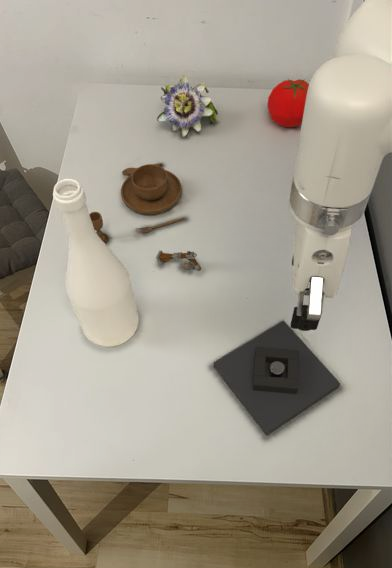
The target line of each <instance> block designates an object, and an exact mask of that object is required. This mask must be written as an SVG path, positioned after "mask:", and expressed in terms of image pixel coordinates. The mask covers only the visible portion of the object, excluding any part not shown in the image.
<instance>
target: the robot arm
mask: <svg viewBox="0 0 392 568" xmlns="http://www.w3.org/2000/svg"><path fill="white" fill-rule="evenodd" d="M339 33H340V34H339V36H338V38H337V39H336V43H335V44H334V45H335V46H334V49H333V53H332V58H331V59H329V60H327V61H325V62H324V63H322V64H321V65H320V66H319V67H318V68H317V69H316V71H315V72H314V73H313V75H312V77H311V79H310V81H309V82H308V84H309V87H308V91H307V96H306V102H305V108H304V114H303V120H302V124H301V126H300V127H301V128H300V133H299V139H298V146H297V151H296V156H295V157H296V158H295V163H294V169H293V176H292V180H291V181H292V182H291V186H290V193H289V199H288V200H289V201H288V207H289V212H290V213H291V215H292V216H293V218H294V220H296V221H295V228H294V237H293V240H294V241H293V253H292V259H291V266H292V267H293V291H294V293H295V294H296V295H297V305H296V306H294V308H293V311H292V316H291V319H290V328H291V329H292V330H293V329H294V330H299V331H302V332H309V331H316V330H318V327H319V323H320V321H321V318H322V314H323V308H324V307H323V306H324V299H325V298H327V299H328V298H329V299H331V298H334V297H336V296H337V294H338V292H339V287H340V284H341V281H342V277H343V273H344V270H345V266H346V263H347V259H348V253H349V250H350V246H351V245H350V244H351V238H352V234H353V227H355V226H357V225H358V224H359V223H360V222H361V220H362V219H363V217H364V215H365V211H366V208H367V205H368V203H369V201H370V197H371V194H372V192H373V189H374V186H375V182H376V180H377V176H378V174H379V171H380V169H381V165H382V163H383V160H384V157H386V156H387V155H388V154H391V153H392V0H363V1H362V3H360V5H359V6H358V7H356V9H355V11H354V12H353V13H352V15H351V16H350V18H348V20H347V21H346V23H345V25H344V27H343V28H342V29H341V30H340V32H339ZM305 296H308V303H307V304H304V299H305Z"/></svg>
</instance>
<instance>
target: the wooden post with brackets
mask: <svg viewBox="0 0 392 568" xmlns="http://www.w3.org/2000/svg"><path fill="white" fill-rule="evenodd" d="M197 256H198V253H196V252H195V251H190V250H187V252H182V251H180V252H173V253H167V252H164V251H163V250H161V249H159V251H158V252H157V254H156V256H155V258H156V260H157V262H158V263H159V265H162V264H163V263H164V262H167V261H170V260H173V261H182V260H187V261H188V262H186V261H184V263H182V264H181V267H182V268H184V270H187V269H188V270H191V269H192V268H195V269H196V271H197V272H201V270H202V267H201V264H200V262H198V261H197V259H196V257H197Z"/></svg>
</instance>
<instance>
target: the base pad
mask: <svg viewBox="0 0 392 568" xmlns="http://www.w3.org/2000/svg"><path fill="white" fill-rule="evenodd" d="M256 347H266V348H277V349H289V350H299V372H298V390H297V393H296V394H289V393H278V392H268V391H257V390H253V377H254V362H255V351H256ZM286 367H287V364H283V363H281V362H279V361H275V362H273V363H268V362H266V364H265V376H267V377H278V378H286ZM213 368H214V370H216V372H217V374H219V376H220V377H221V378H222V380H223V381H224V382H225V384H226V385H227V386H228V387H229V389H230V390H231V391H232V393H233V394H234V395H235V397H236V398H237V399H238V400H239V402H240V404H241V405H242V406H244V408H245V410H246V411H247V412H248V413H249V415H250V416H251V417H252V419H253V420H254V422H255V423H256V424H257V425H258V427H259V428H260V429H261V430H262V432H263V433H264V434H265V436H269V435H271V434H272V433H273V432H275V431H276V430H278V429H280V428H281V427H282V426H284V425H285V424H286V423H288V422H290V421H291V420H293V419H294V418H296V417H297V416H299V415H300V414H302V413H303V412H305V411H306V410H307V409H309V408H311V407H313V405H315V404H317V403H318V402H320V401H321V400H323V399H324V398H326V397H327V396H329V395H330V394H332V393H333V392H335V391H336V390H338V389H339V388H340V386H341V382H340V381H339V380H338V379H337V378H336V377H335V376H334V375H333V373H331V371H330V370H329V369H328V368H327V367H326V365H324V364H323V362H322V361H321V360H320V359H319V358H318V357H317V356H316V354H315V353H314V352H313V351H312V350H311V349H310V348H309V347H308V345H307V344H305V342H304V341H303V340H302V339H301V338H300V337H299V336H298V334H296V333H295V331H294V330H293V328H291V326H289V324H287V322H286V321H285V320H284V319H283V320H282V321H280V322H279V323H276V324H275V325H273V326H271V327H270V328H268V329H267V330H265V331H263V332H262V333H260V334H258V335H256V336H255V337H253V338H251V339H250V340H248V341H247V342H245V343H243V344H241V345H240V346H238V347H237V348H235V349H233V350H232V351H230V352H229V353H227V354H225V355H223V356H222V357H220V358H218V359H217V360H215V361H214V362H213Z"/></svg>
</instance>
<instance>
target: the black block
mask: <svg viewBox="0 0 392 568" xmlns="http://www.w3.org/2000/svg"><path fill="white" fill-rule="evenodd" d="M275 361H279V362H281V363H283V364H287V367H286V378H278V377H267V376H265V364H266V362H268V363H273V362H275ZM298 372H299V350H289V349H277V348H266V347H256V351H255V362H254V377H253V390H257V391H268V392H278V393H289V394H296V393H297V390H298Z"/></svg>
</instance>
